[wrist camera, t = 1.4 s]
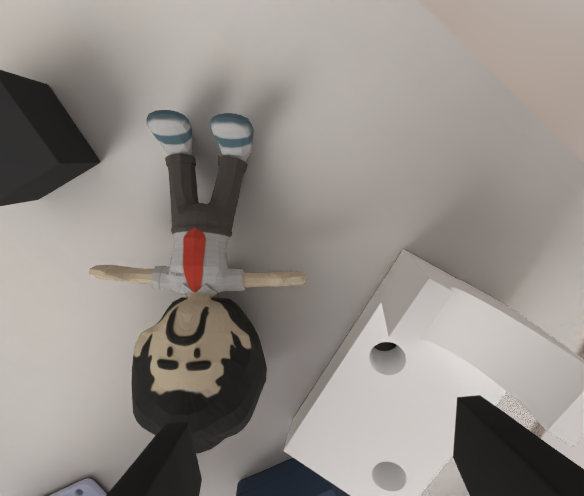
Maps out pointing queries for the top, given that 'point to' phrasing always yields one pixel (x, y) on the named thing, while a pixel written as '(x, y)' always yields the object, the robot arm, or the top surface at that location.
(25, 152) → the black block
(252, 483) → the blue square tray
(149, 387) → the figurine
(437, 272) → the bracket
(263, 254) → the top surface
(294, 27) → the top surface
